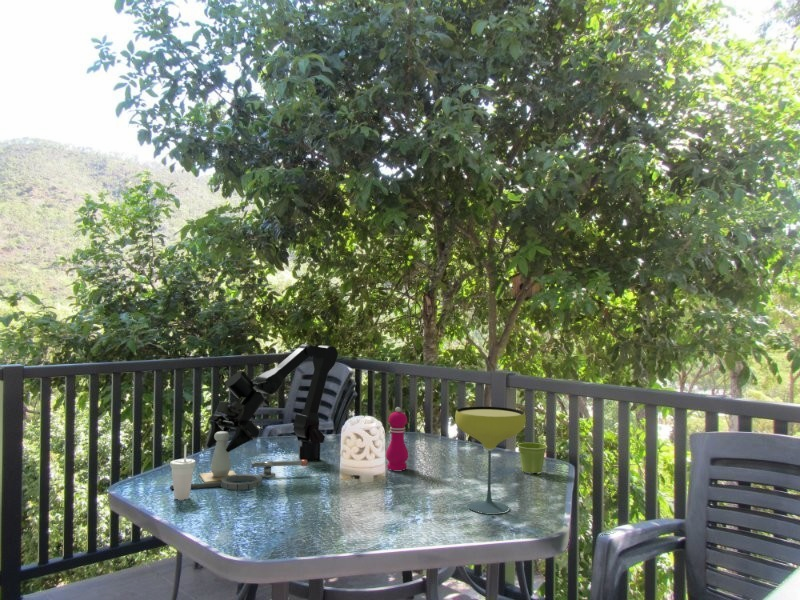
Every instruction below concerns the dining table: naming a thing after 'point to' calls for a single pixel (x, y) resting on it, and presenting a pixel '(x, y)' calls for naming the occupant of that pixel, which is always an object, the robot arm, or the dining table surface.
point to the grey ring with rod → (234, 486)
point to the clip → (278, 463)
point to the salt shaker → (221, 455)
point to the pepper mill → (397, 441)
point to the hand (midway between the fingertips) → (217, 449)
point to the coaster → (211, 479)
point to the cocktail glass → (490, 439)
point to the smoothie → (182, 476)
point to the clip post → (267, 473)
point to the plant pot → (532, 456)
